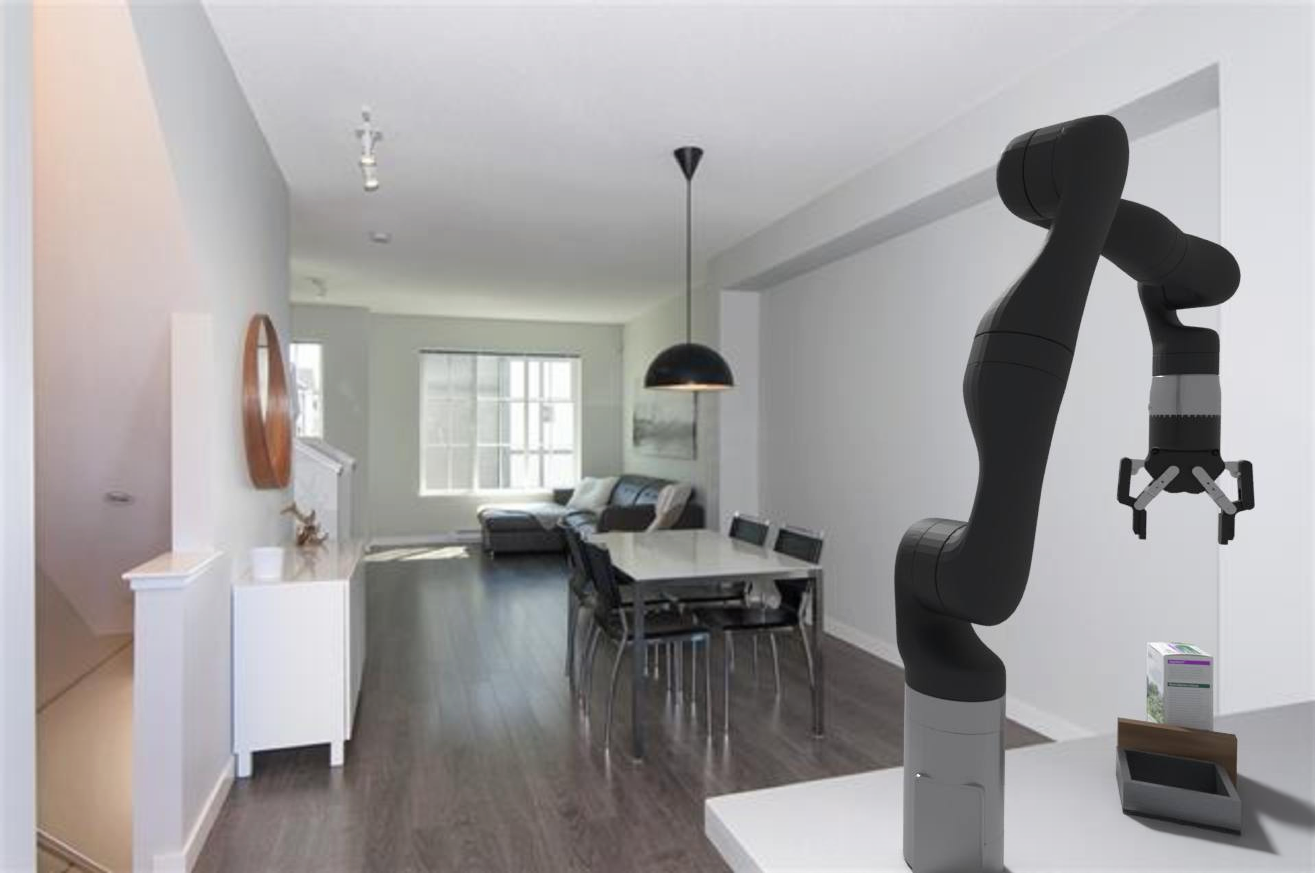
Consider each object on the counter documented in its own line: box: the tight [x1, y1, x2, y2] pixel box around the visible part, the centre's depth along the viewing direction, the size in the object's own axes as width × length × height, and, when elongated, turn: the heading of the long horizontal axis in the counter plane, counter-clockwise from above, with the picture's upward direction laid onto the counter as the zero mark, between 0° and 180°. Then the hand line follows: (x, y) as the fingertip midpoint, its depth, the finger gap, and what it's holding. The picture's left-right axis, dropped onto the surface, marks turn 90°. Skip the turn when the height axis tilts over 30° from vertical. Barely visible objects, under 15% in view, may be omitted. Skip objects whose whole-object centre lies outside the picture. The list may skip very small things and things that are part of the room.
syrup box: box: [1145, 641, 1214, 731], centre depth 100 cm, size 6×6×14 cm
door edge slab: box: [1116, 716, 1238, 791], centre depth 96 cm, size 2×12×6 cm, turn 64°
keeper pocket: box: [1115, 745, 1242, 836], centre depth 90 cm, size 11×11×4 cm
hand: (1182, 541), depth 100 cm, fingers open, 8 cm apart
